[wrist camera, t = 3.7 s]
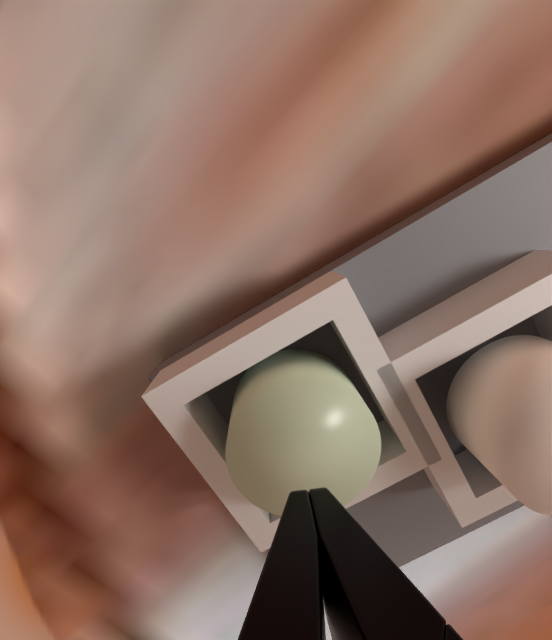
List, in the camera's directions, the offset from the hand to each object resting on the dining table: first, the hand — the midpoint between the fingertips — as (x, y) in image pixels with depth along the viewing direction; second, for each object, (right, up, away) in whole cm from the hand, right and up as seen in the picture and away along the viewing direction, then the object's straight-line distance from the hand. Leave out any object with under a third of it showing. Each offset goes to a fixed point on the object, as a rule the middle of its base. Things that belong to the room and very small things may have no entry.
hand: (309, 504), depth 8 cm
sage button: (0, +1, +4) cm, 4 cm away
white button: (+7, +2, +4) cm, 8 cm away
